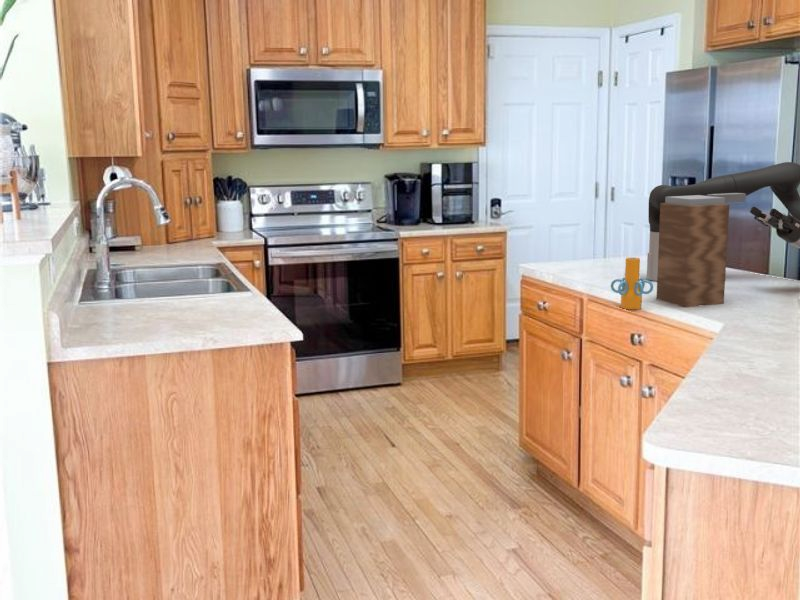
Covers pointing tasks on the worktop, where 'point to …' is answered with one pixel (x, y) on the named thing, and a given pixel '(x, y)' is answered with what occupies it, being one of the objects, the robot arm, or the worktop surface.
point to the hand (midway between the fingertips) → (761, 210)
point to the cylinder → (631, 285)
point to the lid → (706, 199)
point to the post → (692, 254)
